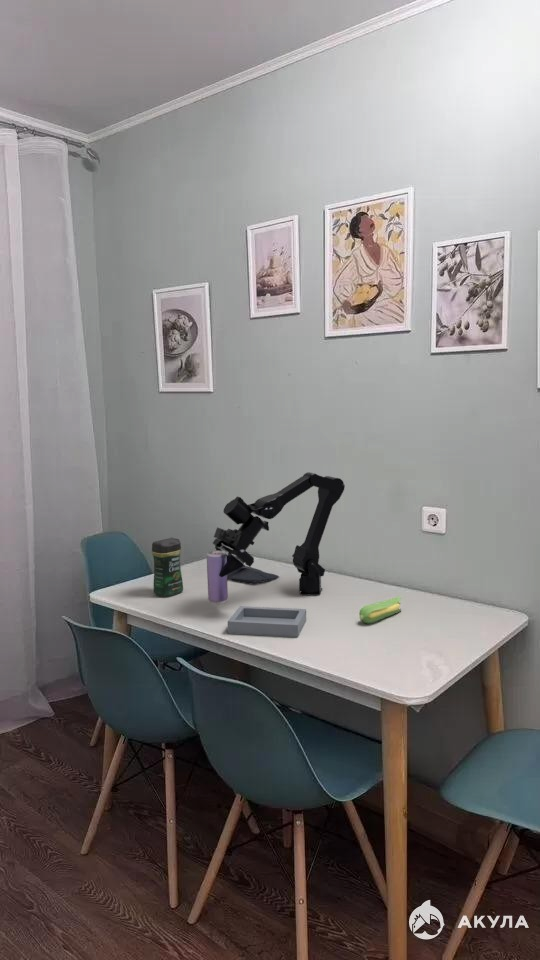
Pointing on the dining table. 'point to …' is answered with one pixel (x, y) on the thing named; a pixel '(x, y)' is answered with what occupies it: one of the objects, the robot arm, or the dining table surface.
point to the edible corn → (379, 610)
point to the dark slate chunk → (250, 575)
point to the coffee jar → (167, 567)
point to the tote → (267, 621)
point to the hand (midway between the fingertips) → (216, 573)
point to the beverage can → (216, 577)
